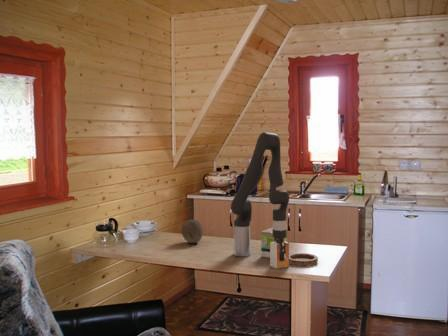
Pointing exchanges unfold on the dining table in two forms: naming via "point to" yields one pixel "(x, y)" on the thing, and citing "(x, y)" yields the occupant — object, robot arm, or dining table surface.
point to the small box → (278, 255)
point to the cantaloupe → (192, 231)
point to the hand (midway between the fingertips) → (279, 258)
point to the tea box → (267, 242)
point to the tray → (303, 259)
